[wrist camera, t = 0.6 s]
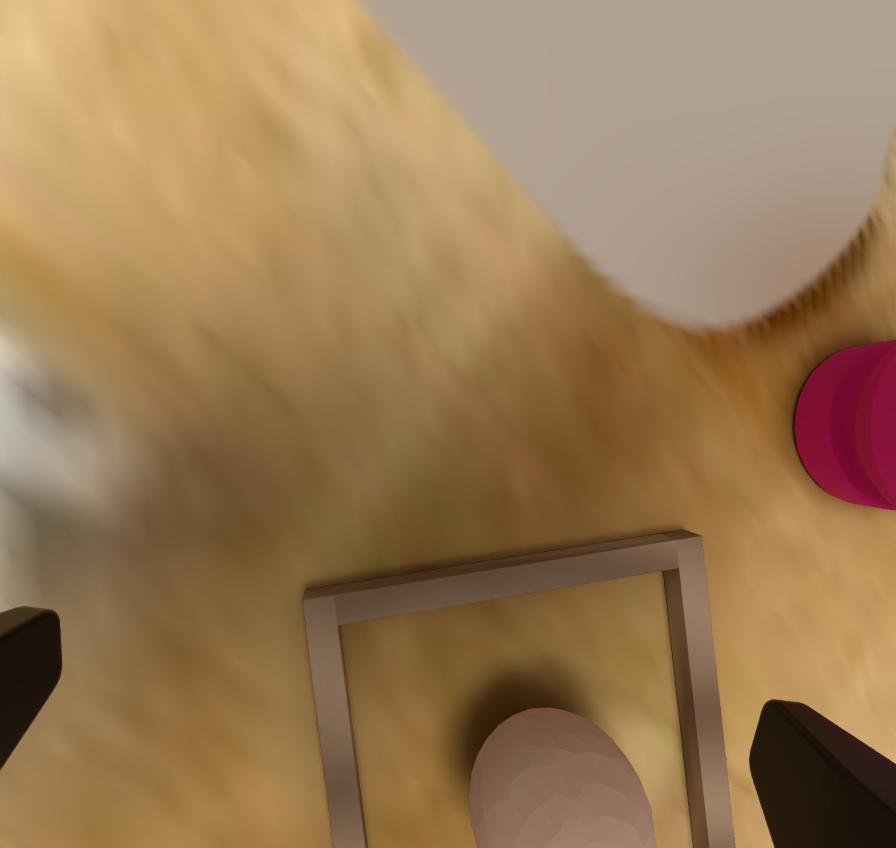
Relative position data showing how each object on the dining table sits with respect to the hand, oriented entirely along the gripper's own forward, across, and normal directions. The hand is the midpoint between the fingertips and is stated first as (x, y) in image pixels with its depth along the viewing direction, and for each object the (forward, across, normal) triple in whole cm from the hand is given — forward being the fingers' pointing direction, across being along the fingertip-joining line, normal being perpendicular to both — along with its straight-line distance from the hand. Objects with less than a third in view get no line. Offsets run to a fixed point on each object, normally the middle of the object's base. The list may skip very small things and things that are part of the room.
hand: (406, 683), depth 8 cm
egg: (+12, -4, +12) cm, 17 cm away
